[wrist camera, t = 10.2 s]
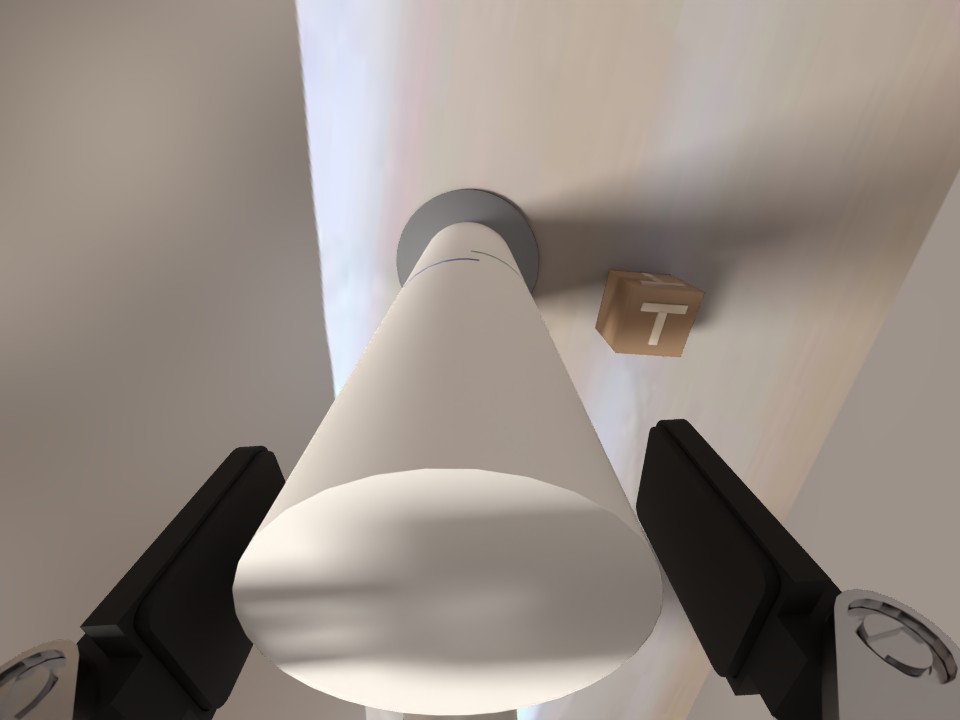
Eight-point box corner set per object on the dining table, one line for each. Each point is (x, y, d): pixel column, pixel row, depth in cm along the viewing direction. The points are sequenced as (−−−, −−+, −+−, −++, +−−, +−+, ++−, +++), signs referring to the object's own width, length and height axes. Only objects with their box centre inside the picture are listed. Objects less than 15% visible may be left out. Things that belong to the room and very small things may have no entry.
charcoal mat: (486, 353, 32) (486, 355, 32) (373, 286, 29) (372, 287, 29) (566, 245, 28) (567, 246, 28) (444, 155, 25) (444, 155, 25)
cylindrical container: (415, 225, 27) (147, 485, 5) (512, 218, 27) (707, 451, 5) (428, 316, 30) (305, 723, 8) (514, 310, 30) (633, 706, 8)
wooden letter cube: (650, 331, 32) (681, 357, 27) (594, 327, 32) (616, 353, 27) (669, 272, 30) (706, 290, 25) (609, 267, 29) (636, 285, 25)
